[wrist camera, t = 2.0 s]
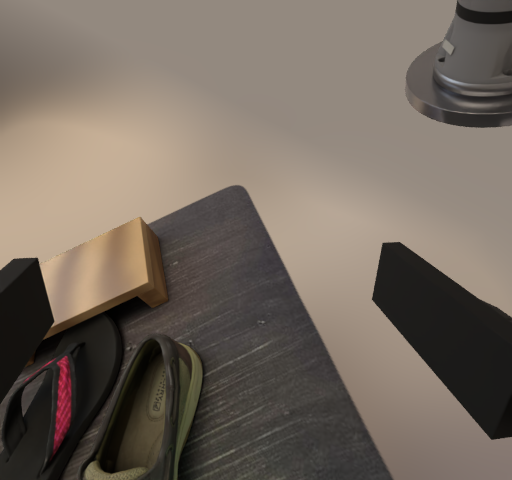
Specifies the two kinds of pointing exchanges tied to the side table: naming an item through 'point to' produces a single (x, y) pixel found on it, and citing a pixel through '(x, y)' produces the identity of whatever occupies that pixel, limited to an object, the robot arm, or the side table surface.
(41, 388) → the sandal
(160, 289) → the oak shelf
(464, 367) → the robot arm
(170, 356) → the boat shoe
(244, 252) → the side table surface
